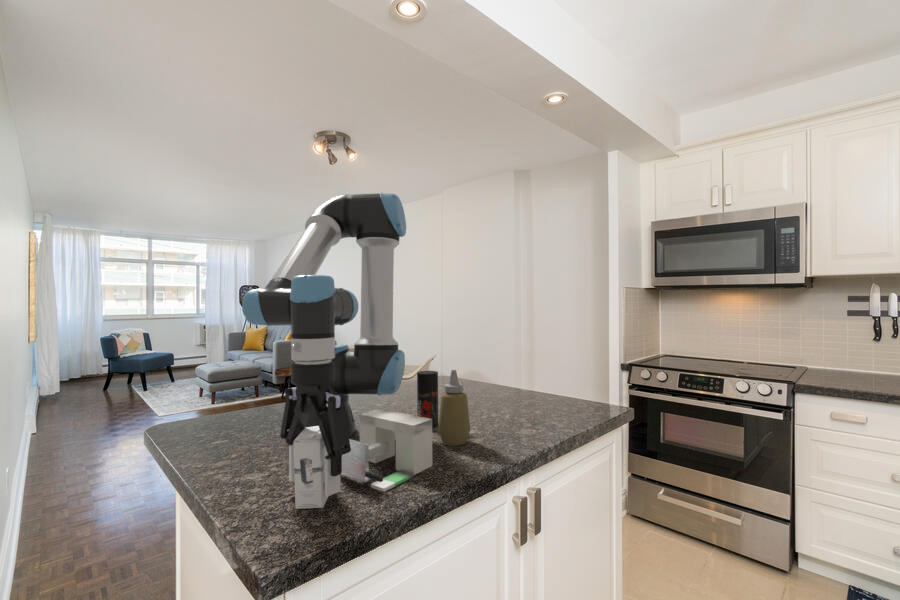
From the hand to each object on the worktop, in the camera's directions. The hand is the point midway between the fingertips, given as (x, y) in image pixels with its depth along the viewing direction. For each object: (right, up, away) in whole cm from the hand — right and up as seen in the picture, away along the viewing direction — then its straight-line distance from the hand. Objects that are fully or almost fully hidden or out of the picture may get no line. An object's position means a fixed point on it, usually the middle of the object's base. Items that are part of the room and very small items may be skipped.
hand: (313, 485), depth 77 cm
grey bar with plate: (+9, -1, +9) cm, 13 cm away
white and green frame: (+10, -2, +13) cm, 17 cm away
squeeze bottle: (+25, -2, +30) cm, 39 cm away
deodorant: (+18, -2, +45) cm, 49 cm away
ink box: (0, -2, 0) cm, 2 cm away
